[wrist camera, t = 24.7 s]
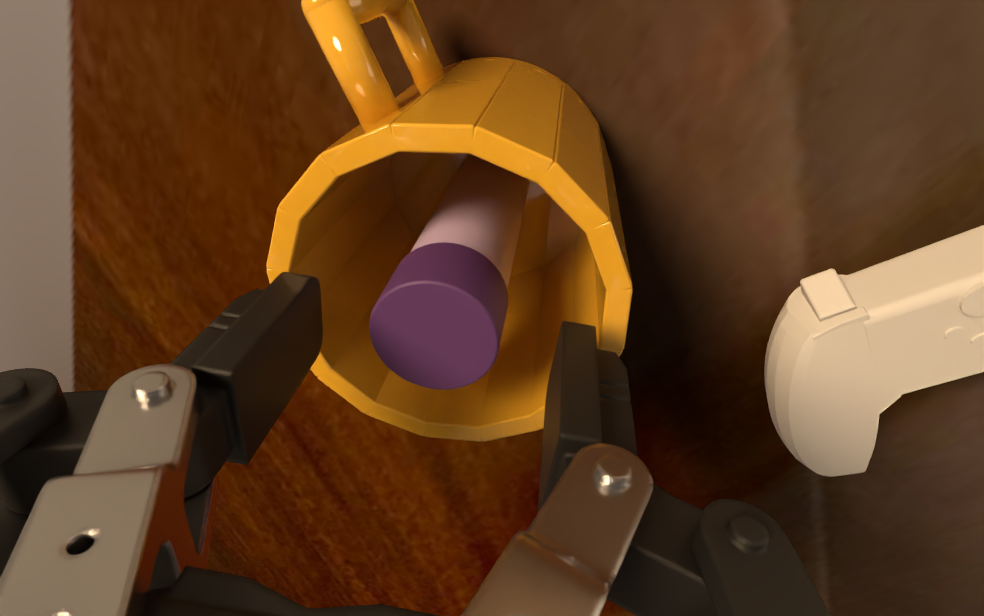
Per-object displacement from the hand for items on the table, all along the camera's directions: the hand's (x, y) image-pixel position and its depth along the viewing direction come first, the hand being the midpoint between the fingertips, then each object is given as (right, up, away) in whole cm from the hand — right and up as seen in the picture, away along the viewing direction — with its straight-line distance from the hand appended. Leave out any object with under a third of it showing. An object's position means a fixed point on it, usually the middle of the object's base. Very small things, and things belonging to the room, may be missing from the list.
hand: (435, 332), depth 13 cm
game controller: (+19, 0, +9) cm, 21 cm away
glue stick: (+1, +5, +8) cm, 10 cm away
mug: (+1, +7, +8) cm, 11 cm away
